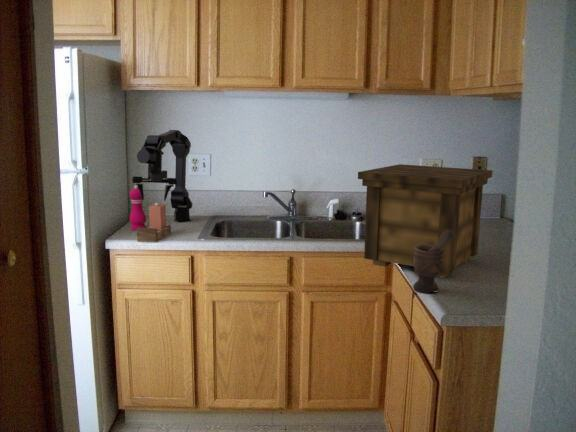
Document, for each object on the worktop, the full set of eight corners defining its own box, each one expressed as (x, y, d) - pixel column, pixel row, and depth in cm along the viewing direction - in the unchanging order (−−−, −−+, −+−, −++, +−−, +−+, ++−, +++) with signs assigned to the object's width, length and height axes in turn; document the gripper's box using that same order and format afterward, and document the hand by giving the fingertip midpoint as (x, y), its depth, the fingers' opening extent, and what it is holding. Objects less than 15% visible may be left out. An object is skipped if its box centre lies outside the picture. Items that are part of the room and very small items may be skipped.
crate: (454, 284, 162) (462, 180, 156) (354, 265, 182) (358, 172, 176) (485, 259, 190) (492, 170, 184) (395, 245, 210) (399, 164, 204)
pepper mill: (136, 231, 230) (134, 186, 226) (126, 229, 235) (124, 185, 231) (149, 228, 236) (147, 185, 232) (139, 226, 240) (137, 183, 236)
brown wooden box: (153, 232, 229) (153, 219, 228) (171, 232, 228) (170, 220, 227) (137, 241, 213) (136, 228, 212) (156, 242, 212) (155, 229, 210)
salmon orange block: (155, 226, 227) (154, 201, 225) (166, 227, 226) (165, 202, 224) (149, 229, 221) (148, 204, 219) (161, 230, 221) (160, 204, 219)
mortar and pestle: (454, 290, 157) (459, 225, 153) (447, 298, 149) (452, 231, 146) (416, 283, 162) (420, 221, 159) (407, 291, 155) (411, 226, 151)
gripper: (134, 162, 214) (133, 200, 215) (179, 165, 221) (178, 202, 222) (131, 163, 224) (130, 199, 225) (175, 165, 231) (174, 200, 232)
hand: (153, 200), depth 226 cm, fingers open, 9 cm apart
